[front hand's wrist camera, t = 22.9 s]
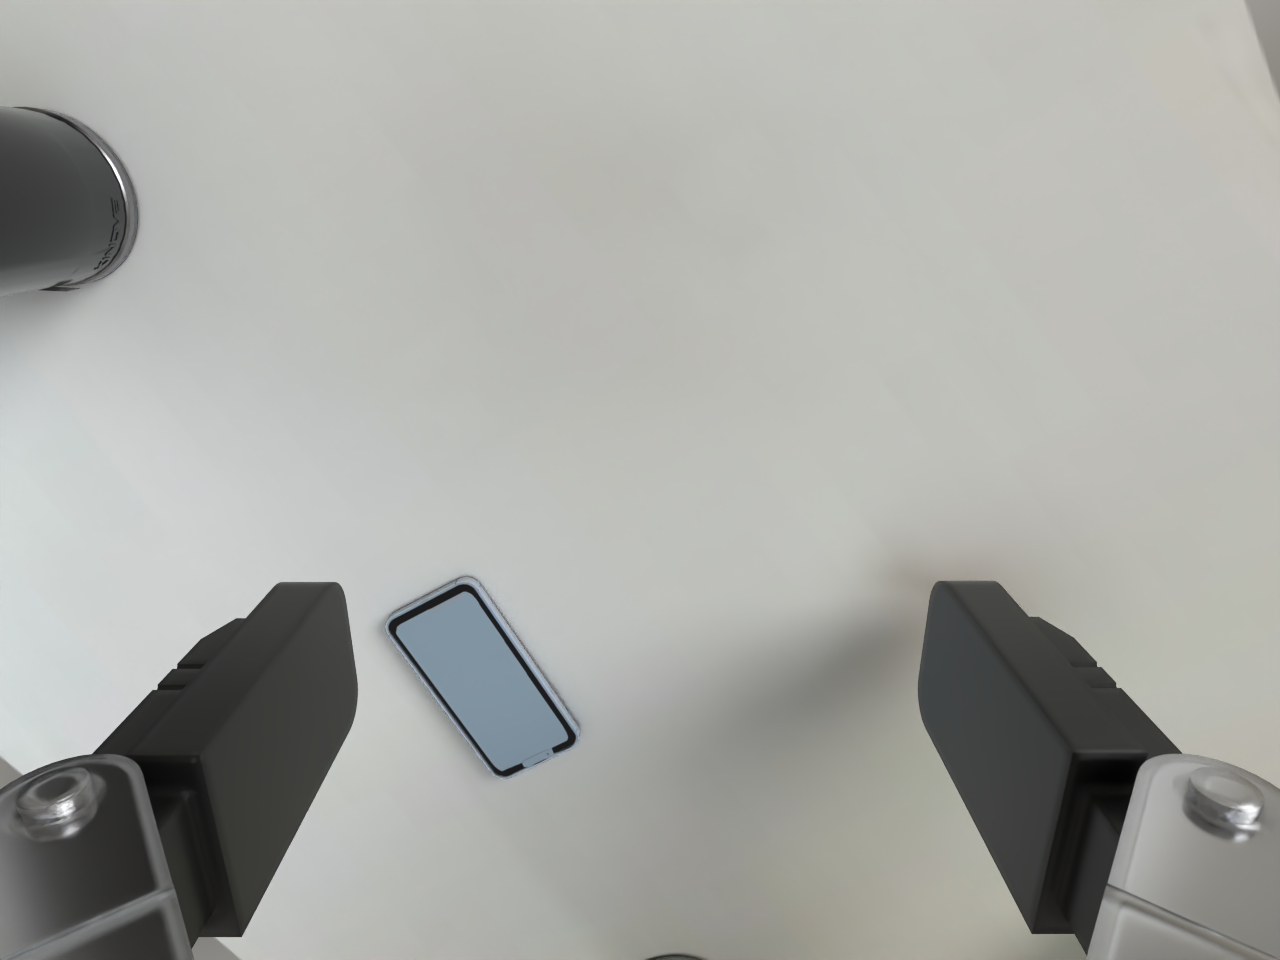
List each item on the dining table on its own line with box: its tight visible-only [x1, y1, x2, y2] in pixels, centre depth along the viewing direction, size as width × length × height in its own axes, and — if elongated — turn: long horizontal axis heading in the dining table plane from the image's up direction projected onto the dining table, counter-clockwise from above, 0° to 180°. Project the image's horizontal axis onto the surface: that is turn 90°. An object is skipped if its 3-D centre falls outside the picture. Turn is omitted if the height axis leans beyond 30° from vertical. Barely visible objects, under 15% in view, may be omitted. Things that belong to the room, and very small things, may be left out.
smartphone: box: [385, 577, 580, 779], centre depth 57 cm, size 7×1×15 cm
